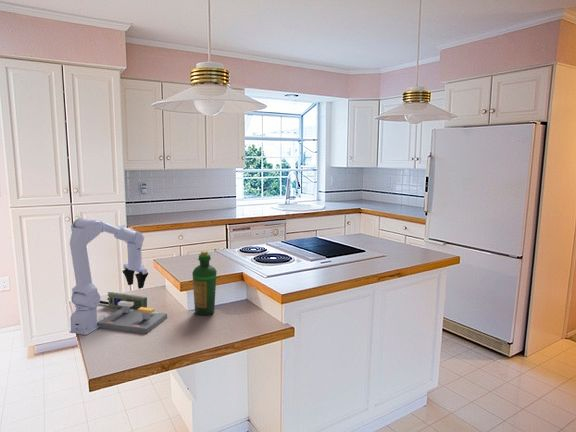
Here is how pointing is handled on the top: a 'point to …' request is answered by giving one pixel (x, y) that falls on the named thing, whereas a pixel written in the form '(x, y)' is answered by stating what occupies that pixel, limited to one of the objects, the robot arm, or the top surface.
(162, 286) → the top surface
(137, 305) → the handheld radio
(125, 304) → the white switch
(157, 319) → the switch panel
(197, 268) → the bottle
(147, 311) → the amber switch
